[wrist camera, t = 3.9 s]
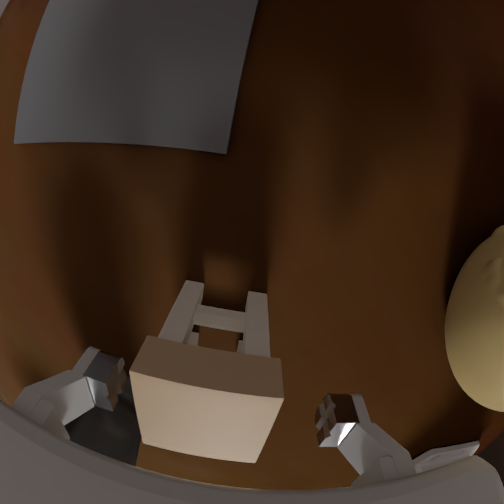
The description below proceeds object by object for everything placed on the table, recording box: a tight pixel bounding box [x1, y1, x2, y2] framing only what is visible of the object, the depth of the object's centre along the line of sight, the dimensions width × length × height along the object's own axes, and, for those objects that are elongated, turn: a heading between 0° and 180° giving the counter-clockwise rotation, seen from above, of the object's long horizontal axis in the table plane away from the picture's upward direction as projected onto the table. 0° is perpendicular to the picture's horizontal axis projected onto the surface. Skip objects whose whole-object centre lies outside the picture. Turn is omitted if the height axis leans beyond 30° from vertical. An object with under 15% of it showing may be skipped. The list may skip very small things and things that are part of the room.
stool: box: [129, 280, 284, 463], centre depth 12 cm, size 5×5×8 cm
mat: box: [14, 0, 259, 154], centre depth 10 cm, size 14×14×1 cm
